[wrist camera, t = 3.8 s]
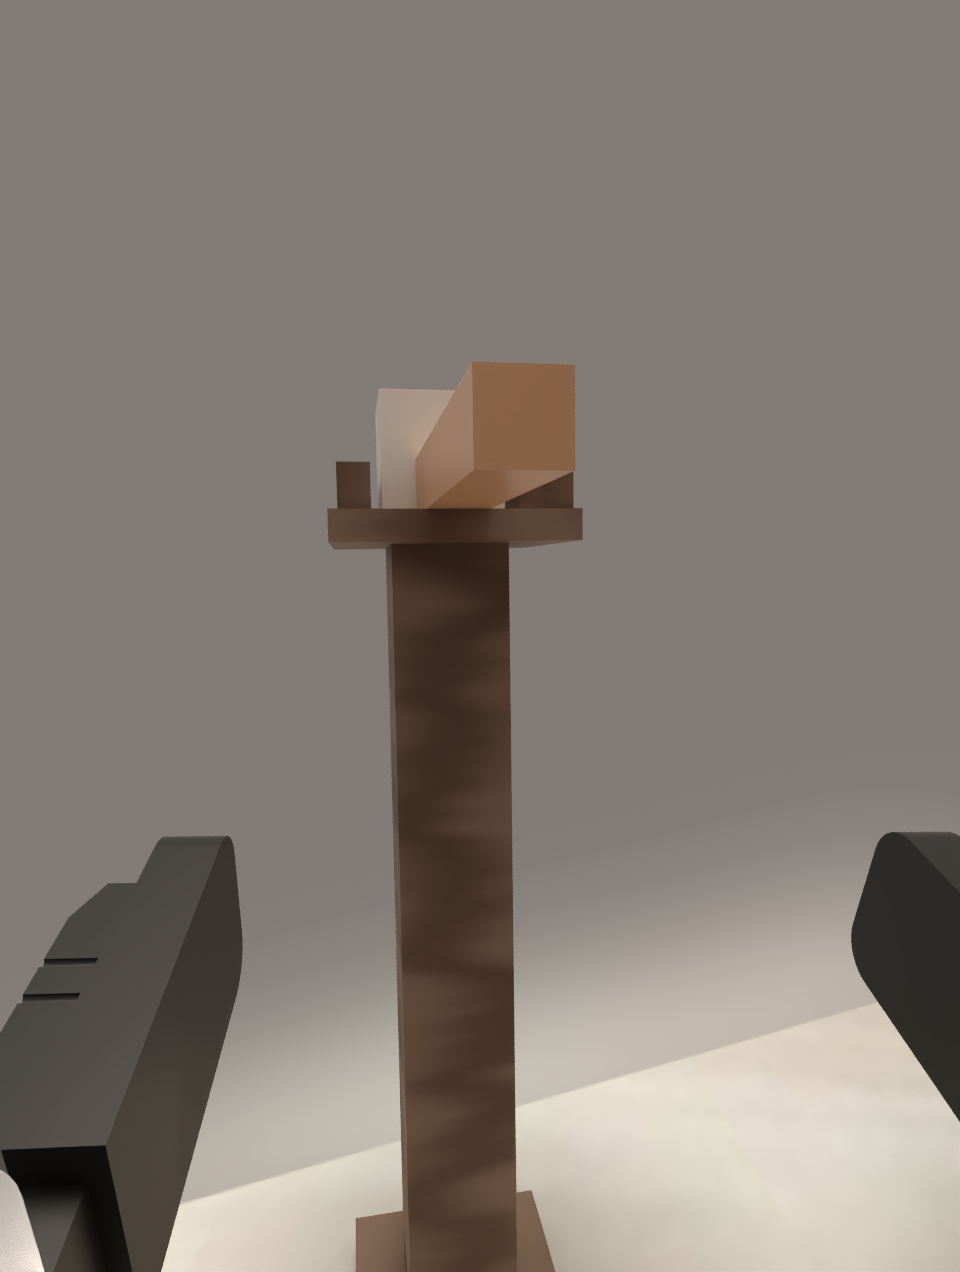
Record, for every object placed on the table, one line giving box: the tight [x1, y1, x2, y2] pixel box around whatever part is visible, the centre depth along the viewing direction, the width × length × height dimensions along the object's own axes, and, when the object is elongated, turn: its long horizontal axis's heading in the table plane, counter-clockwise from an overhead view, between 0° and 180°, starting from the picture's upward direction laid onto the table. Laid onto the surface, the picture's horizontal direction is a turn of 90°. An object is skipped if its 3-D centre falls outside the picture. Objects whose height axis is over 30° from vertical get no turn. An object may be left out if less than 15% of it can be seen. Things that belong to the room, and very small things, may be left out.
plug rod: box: [375, 362, 575, 509], centre depth 22 cm, size 4×16×4 cm, turn 10°
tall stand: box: [327, 462, 583, 1272], centre depth 29 cm, size 8×8×33 cm
